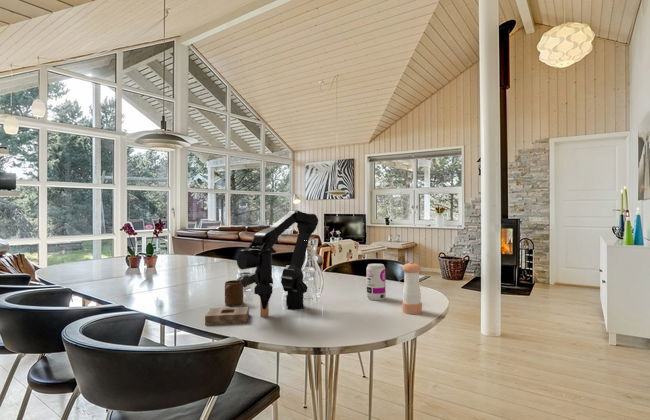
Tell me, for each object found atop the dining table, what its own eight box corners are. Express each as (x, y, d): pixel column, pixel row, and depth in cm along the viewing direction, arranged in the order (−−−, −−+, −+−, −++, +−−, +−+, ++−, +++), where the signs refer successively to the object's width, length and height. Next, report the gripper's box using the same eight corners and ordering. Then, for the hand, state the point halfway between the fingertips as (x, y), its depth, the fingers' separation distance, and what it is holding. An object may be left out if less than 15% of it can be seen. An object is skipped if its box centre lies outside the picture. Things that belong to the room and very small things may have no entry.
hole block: (248, 314, 135) (248, 306, 135) (246, 322, 125) (246, 314, 125) (210, 316, 133) (210, 308, 133) (205, 324, 123) (205, 316, 123)
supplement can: (388, 297, 159) (388, 264, 159) (380, 301, 152) (380, 266, 152) (371, 295, 163) (371, 262, 163) (363, 299, 156) (363, 265, 156)
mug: (235, 309, 142) (235, 285, 142) (217, 309, 143) (217, 285, 143) (245, 301, 154) (245, 280, 154) (229, 301, 155) (228, 279, 155)
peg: (268, 314, 134) (268, 288, 134) (268, 317, 131) (268, 290, 131) (260, 315, 134) (260, 288, 134) (260, 317, 131) (259, 290, 131)
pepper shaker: (425, 311, 137) (425, 261, 137) (414, 315, 132) (414, 263, 132) (409, 307, 142) (408, 259, 142) (398, 311, 137) (398, 261, 137)
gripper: (244, 263, 141) (244, 302, 141) (239, 270, 122) (239, 316, 122) (272, 262, 142) (273, 301, 142) (272, 269, 124) (272, 314, 124)
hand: (264, 308), depth 133 cm, fingers closed on peg, 3 cm apart
